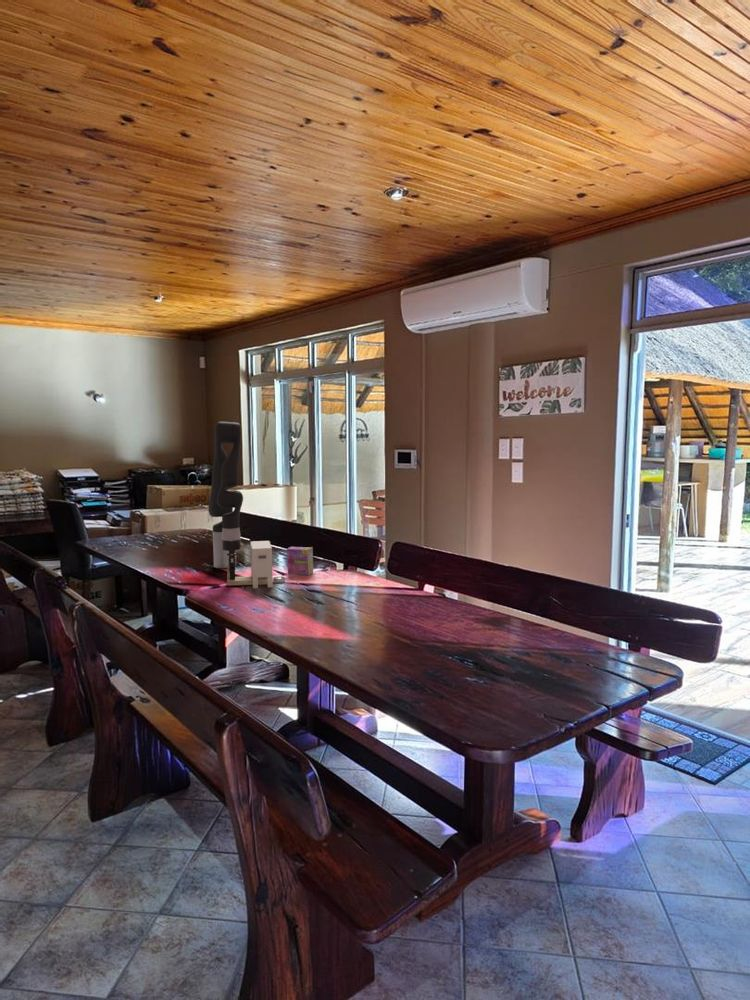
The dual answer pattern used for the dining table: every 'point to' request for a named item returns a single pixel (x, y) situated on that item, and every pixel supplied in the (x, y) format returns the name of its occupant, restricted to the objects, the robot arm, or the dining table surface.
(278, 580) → the puck
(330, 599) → the dining table surface
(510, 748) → the dining table surface
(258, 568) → the notched block
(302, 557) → the box
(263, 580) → the stepped wooden block
